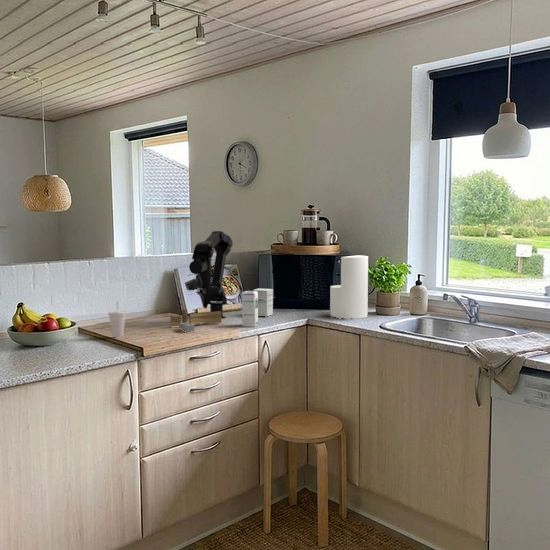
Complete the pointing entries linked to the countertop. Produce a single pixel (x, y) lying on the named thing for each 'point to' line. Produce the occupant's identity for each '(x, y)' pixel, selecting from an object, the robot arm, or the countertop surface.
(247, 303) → the white miniature cabinet
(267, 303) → the supplement box
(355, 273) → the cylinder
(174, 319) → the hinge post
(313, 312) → the countertop surface
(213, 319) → the gate
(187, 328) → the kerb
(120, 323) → the smoothie
